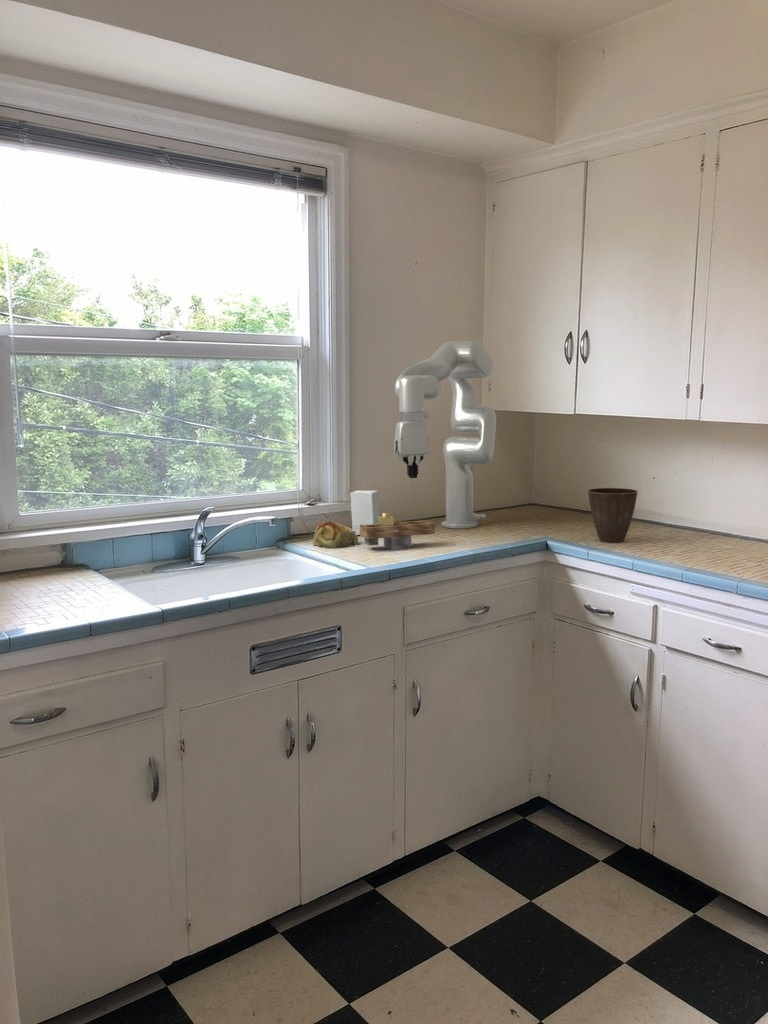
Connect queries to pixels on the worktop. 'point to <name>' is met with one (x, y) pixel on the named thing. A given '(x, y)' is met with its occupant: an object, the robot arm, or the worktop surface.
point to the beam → (396, 533)
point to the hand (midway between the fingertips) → (412, 477)
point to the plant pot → (612, 512)
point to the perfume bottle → (385, 520)
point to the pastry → (334, 535)
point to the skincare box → (364, 509)
